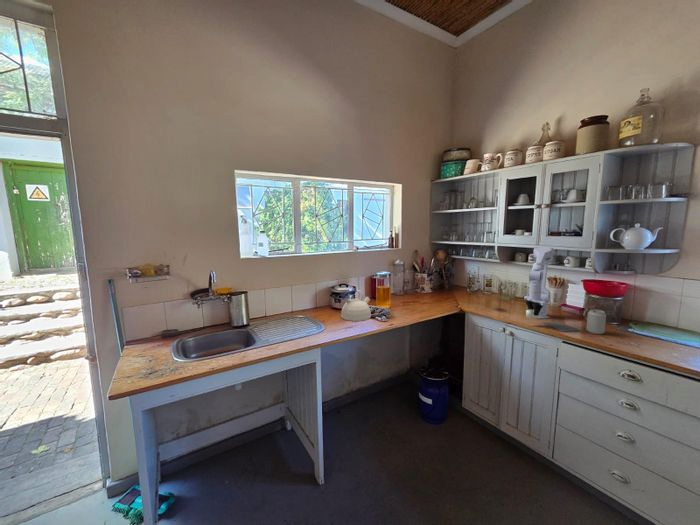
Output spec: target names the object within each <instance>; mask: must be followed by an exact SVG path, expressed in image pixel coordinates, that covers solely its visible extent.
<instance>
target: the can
mask: <svg viewBox="0 0 700 525" xmlns="http://www.w3.org/2000/svg"><path fill="white" fill-rule="evenodd" d="M606 318H607V314H606V312H605V311H604V310H601V309H589V311H588V312H587V318H586V331H587V332H588V333H590V334H592V335H603V334H605V331H606V321H607V319H606Z"/></svg>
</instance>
